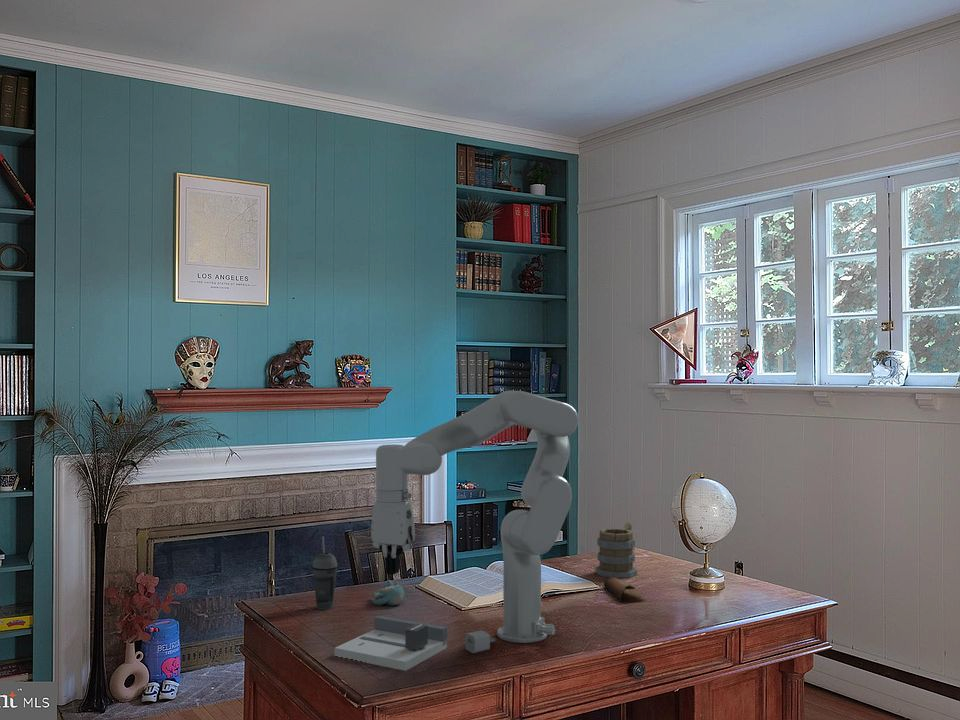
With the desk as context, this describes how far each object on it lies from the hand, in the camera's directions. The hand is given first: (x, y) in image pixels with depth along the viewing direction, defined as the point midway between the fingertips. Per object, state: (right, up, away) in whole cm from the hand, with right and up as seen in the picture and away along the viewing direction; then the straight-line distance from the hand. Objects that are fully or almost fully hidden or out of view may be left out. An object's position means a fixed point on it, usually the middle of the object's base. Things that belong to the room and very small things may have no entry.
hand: (392, 573), depth 201 cm
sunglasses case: (+64, -20, +52) cm, 85 cm away
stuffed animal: (-6, -20, +43) cm, 47 cm away
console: (0, -19, 0) cm, 19 cm away
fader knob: (+6, -16, -4) cm, 18 cm away
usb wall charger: (+21, -19, +2) cm, 29 cm away
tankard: (+68, -20, +81) cm, 108 cm away
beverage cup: (-23, -19, +37) cm, 48 cm away
